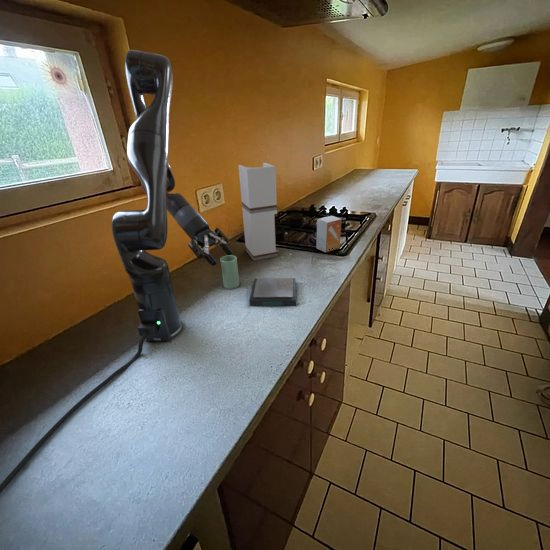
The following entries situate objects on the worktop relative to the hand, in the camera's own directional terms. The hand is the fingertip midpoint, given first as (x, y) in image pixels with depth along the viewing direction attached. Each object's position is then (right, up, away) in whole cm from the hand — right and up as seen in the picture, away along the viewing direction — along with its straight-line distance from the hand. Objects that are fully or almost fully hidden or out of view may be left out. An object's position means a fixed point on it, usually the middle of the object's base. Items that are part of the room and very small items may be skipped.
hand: (223, 259), depth 100 cm
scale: (+17, -11, -3) cm, 20 cm away
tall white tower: (+12, +4, +27) cm, 29 cm away
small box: (+40, +6, +29) cm, 49 cm away
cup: (+2, -9, +3) cm, 9 cm away
